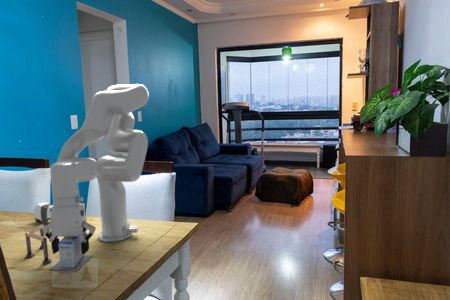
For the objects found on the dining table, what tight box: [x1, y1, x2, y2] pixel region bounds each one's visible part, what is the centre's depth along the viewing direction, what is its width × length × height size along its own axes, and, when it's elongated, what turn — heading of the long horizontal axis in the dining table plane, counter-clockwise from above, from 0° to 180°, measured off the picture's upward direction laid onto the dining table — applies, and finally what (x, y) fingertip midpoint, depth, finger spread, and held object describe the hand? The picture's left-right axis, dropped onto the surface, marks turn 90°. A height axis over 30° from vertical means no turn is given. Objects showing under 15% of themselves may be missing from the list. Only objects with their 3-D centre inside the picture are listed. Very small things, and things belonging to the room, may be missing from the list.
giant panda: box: [32, 202, 53, 226], centre depth 144 cm, size 15×6×10 cm, turn 58°
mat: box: [49, 254, 93, 272], centre depth 108 cm, size 9×10×1 cm
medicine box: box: [58, 237, 85, 268], centre depth 108 cm, size 8×4×9 cm, turn 1°
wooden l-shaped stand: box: [24, 224, 52, 265], centre depth 114 cm, size 11×13×9 cm
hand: (70, 252), depth 108 cm, fingers open, 9 cm apart
